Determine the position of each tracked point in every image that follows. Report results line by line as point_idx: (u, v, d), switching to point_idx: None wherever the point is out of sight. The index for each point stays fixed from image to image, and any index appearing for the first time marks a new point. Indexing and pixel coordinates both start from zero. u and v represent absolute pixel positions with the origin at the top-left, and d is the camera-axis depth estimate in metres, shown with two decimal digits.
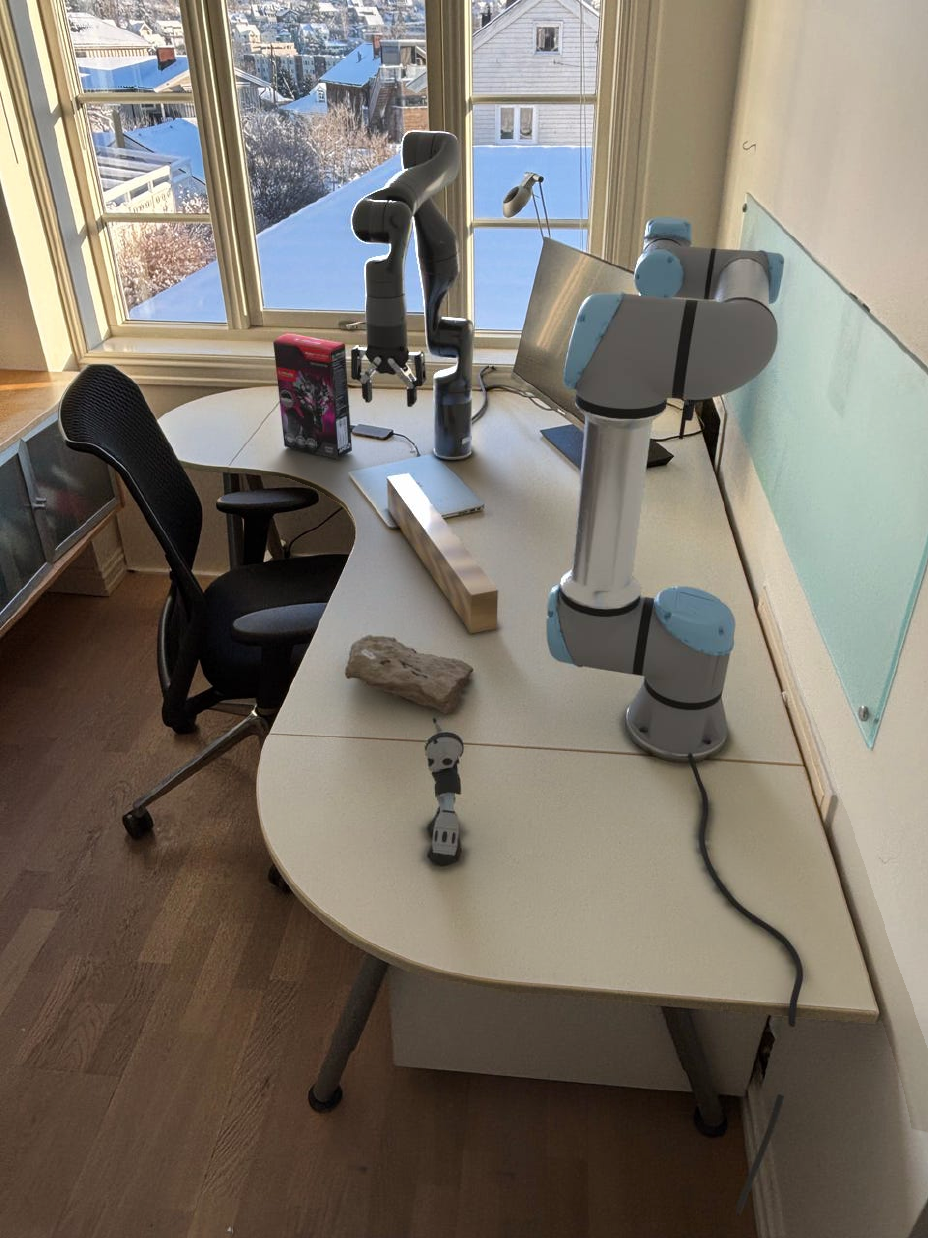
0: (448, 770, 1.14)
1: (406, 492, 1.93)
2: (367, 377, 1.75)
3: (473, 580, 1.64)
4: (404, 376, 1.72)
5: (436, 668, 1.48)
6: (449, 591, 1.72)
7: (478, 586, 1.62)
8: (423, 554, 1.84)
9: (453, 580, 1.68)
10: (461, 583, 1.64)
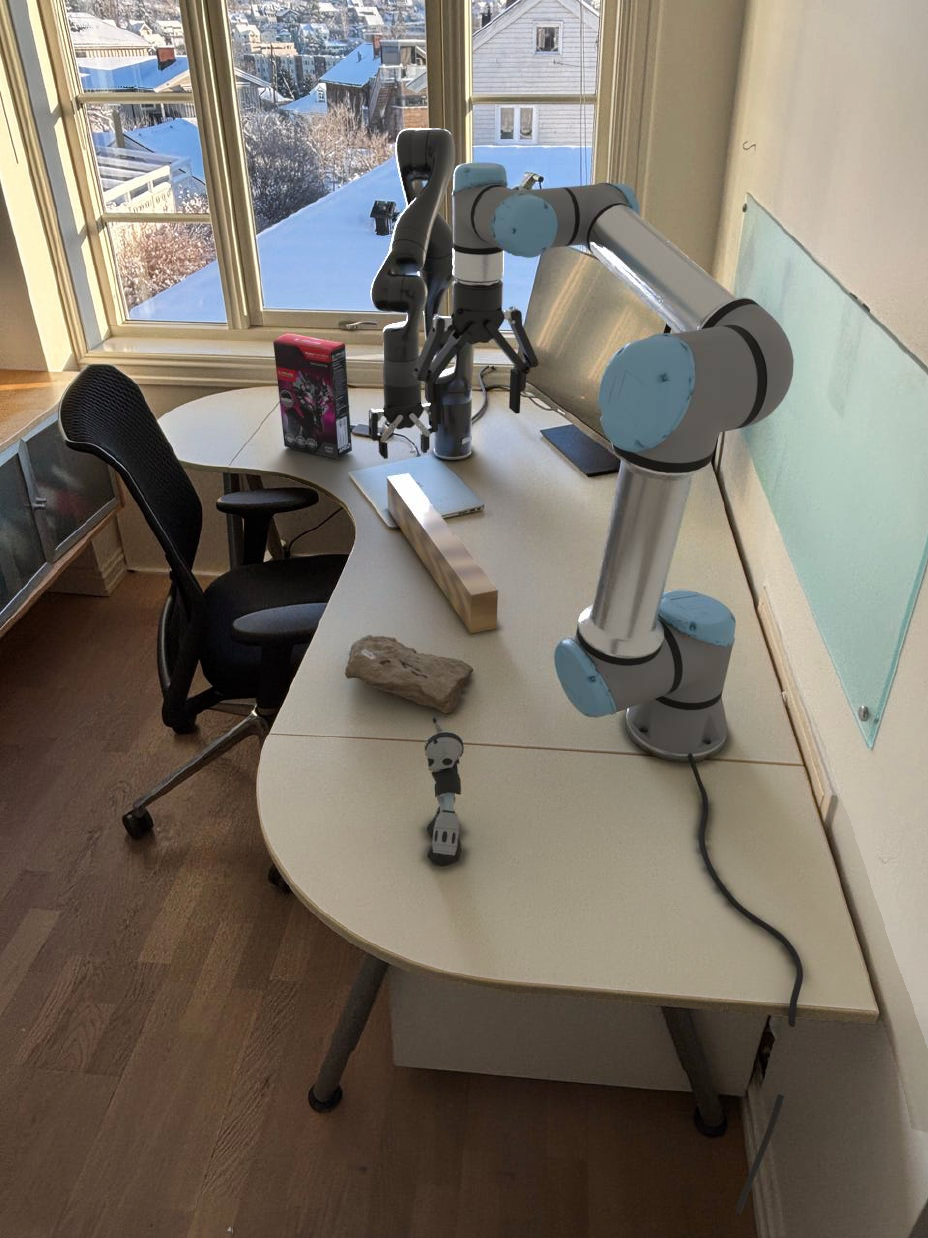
0: (448, 770, 1.14)
1: (406, 492, 1.93)
2: (387, 435, 1.87)
3: (473, 580, 1.64)
4: (423, 426, 1.89)
5: (436, 668, 1.48)
6: (449, 591, 1.72)
7: (478, 586, 1.62)
8: (423, 554, 1.84)
9: (453, 580, 1.68)
10: (461, 583, 1.64)
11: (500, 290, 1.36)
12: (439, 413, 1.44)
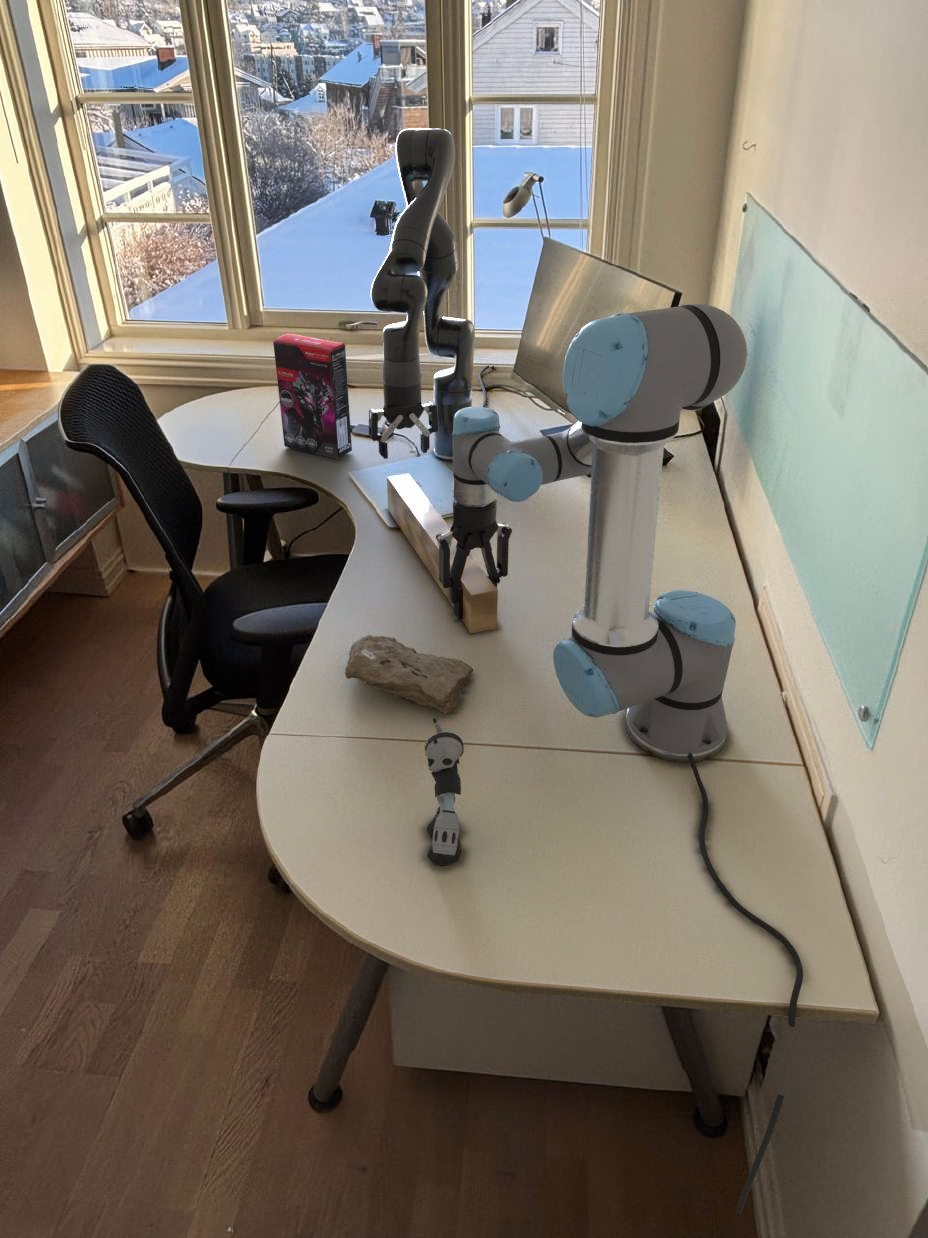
0: (448, 770, 1.14)
1: (406, 492, 1.93)
2: (387, 435, 1.87)
3: (473, 580, 1.64)
4: (423, 426, 1.89)
5: (436, 668, 1.48)
6: None
7: (478, 586, 1.62)
8: (423, 554, 1.84)
9: None
10: (461, 583, 1.64)
11: (494, 509, 1.56)
12: (461, 611, 1.67)
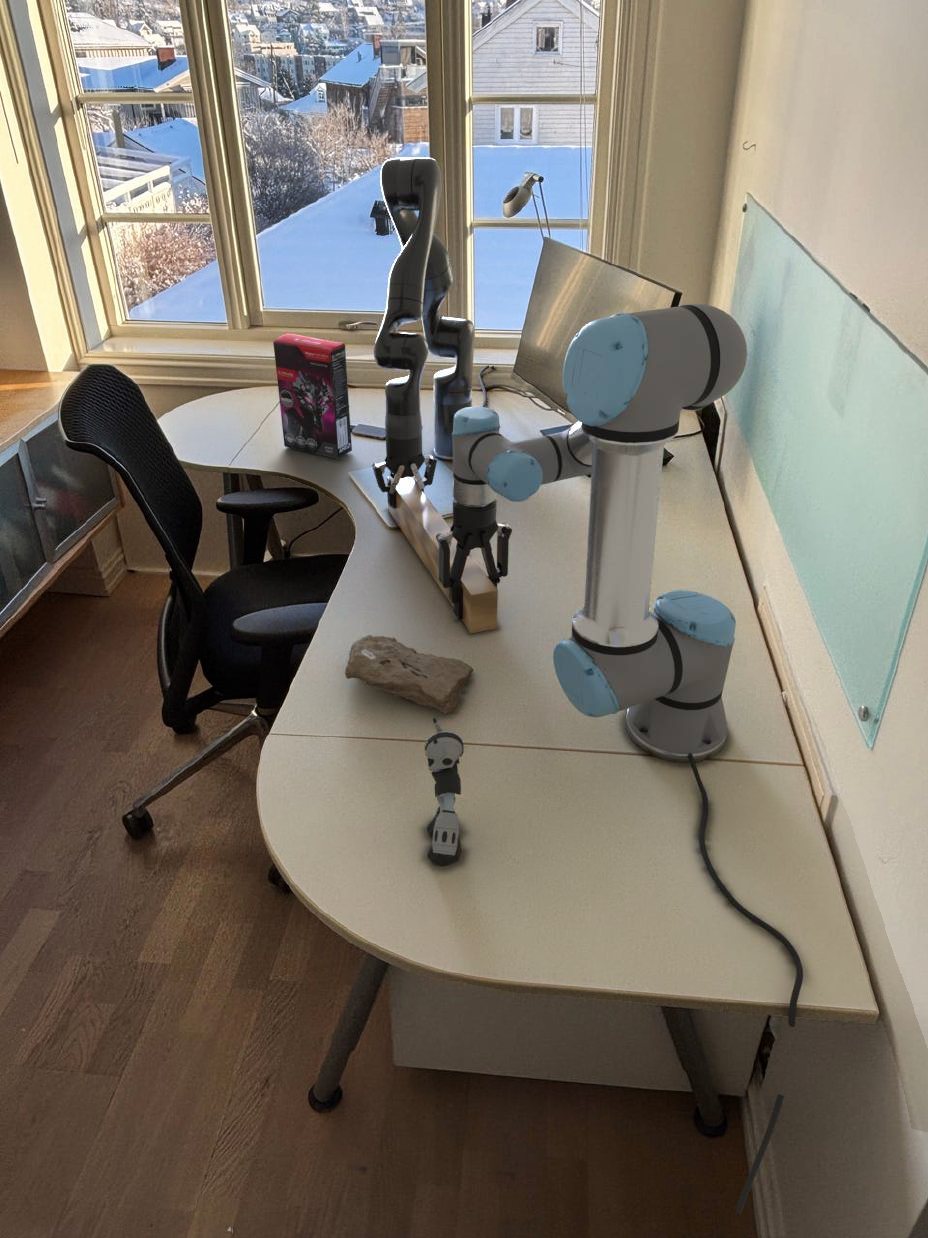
0: (448, 770, 1.14)
1: (406, 492, 1.93)
2: (395, 486, 1.94)
3: (473, 580, 1.64)
4: (420, 479, 1.95)
5: (436, 668, 1.48)
6: None
7: (478, 586, 1.62)
8: (423, 554, 1.84)
9: None
10: (461, 583, 1.64)
11: (494, 509, 1.56)
12: (461, 611, 1.67)
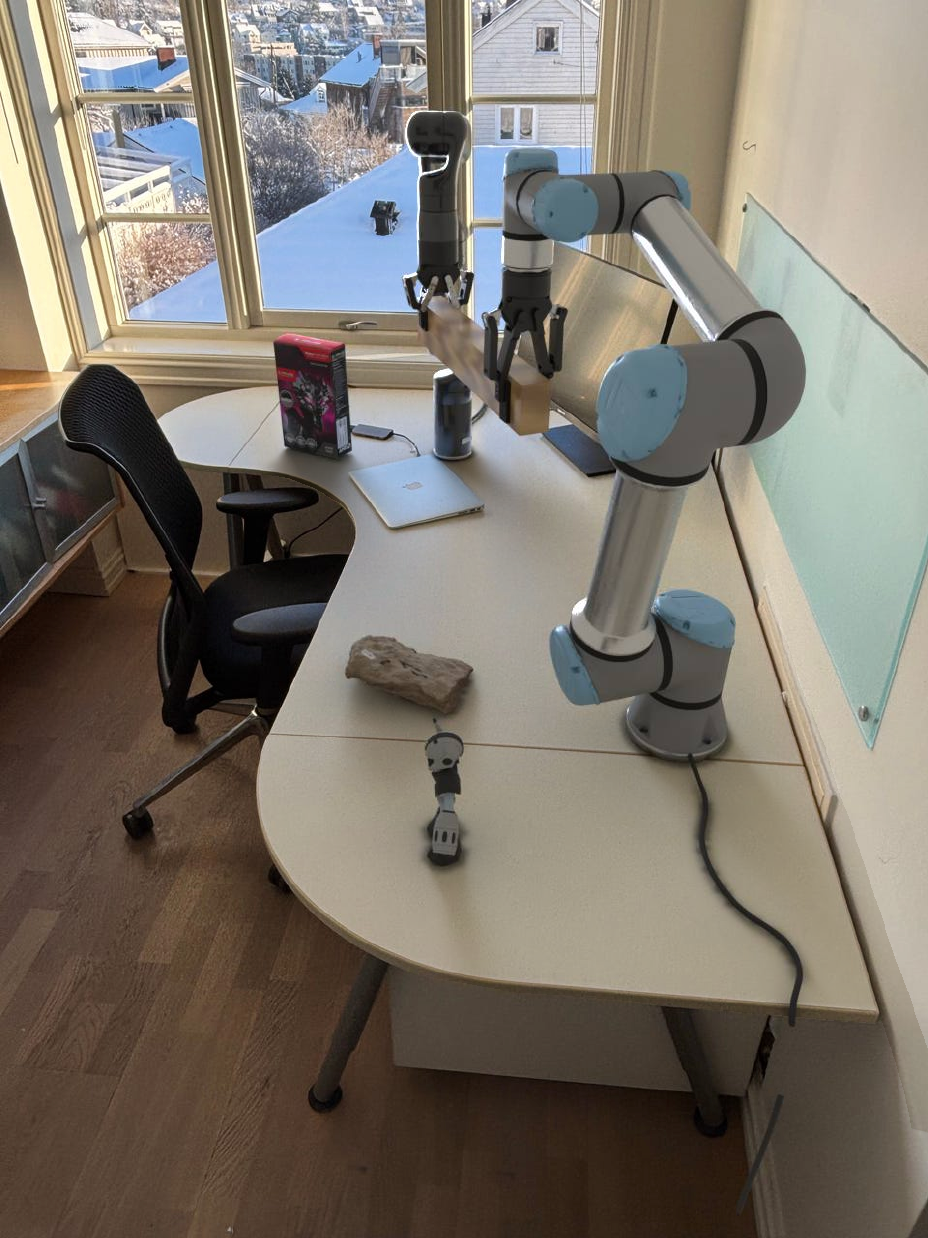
0: (448, 770, 1.14)
1: (440, 308, 1.72)
2: (427, 303, 1.73)
3: (523, 374, 1.43)
4: (455, 295, 1.74)
5: (436, 668, 1.48)
6: (493, 397, 1.51)
7: (528, 379, 1.41)
8: (461, 368, 1.63)
9: None
10: (509, 377, 1.43)
11: (550, 277, 1.35)
12: (509, 412, 1.45)
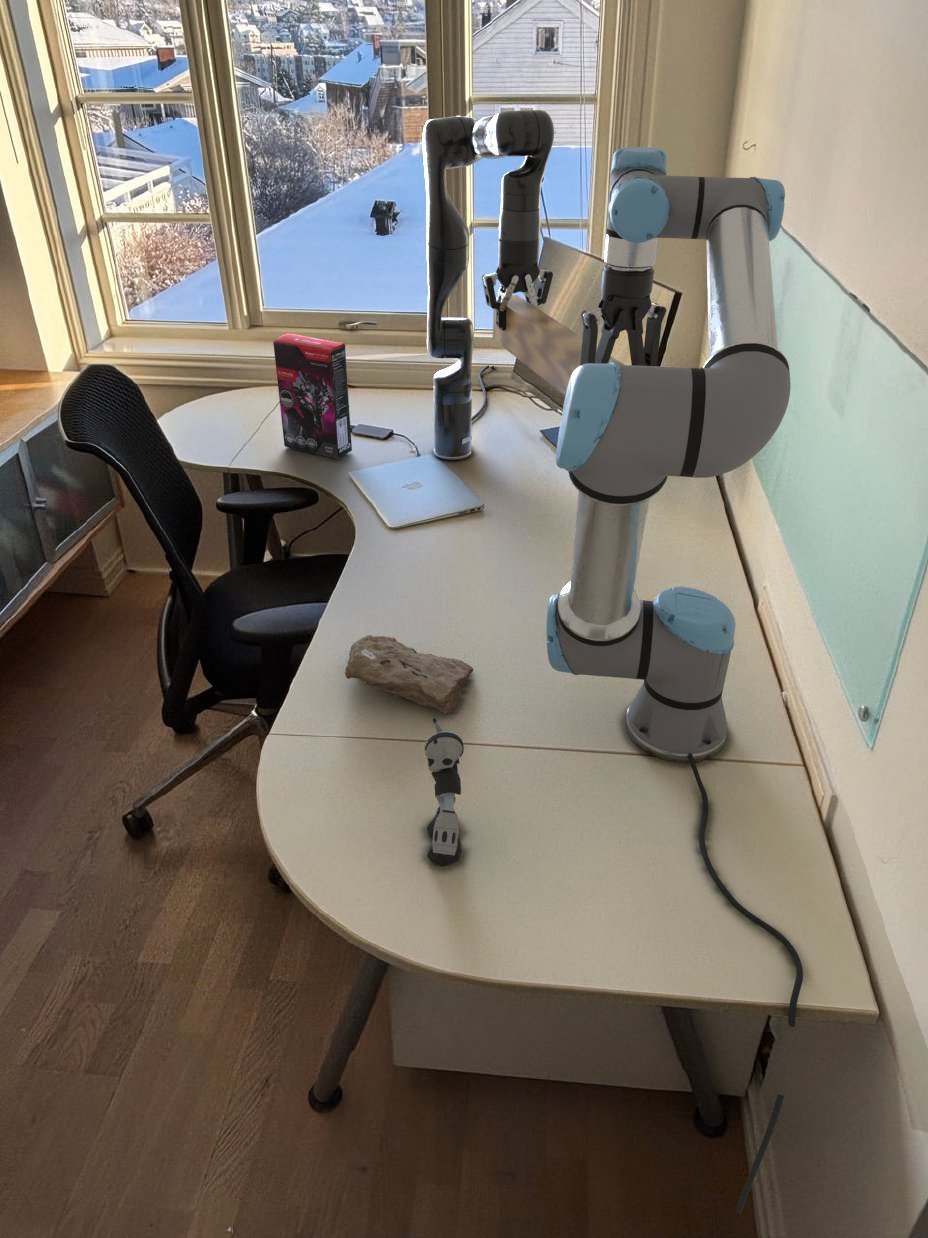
0: (448, 770, 1.14)
1: (519, 308, 1.72)
2: (506, 302, 1.73)
3: None
4: (534, 294, 1.74)
5: (436, 668, 1.48)
6: None
7: None
8: (545, 367, 1.63)
9: None
10: None
11: (652, 276, 1.35)
12: None
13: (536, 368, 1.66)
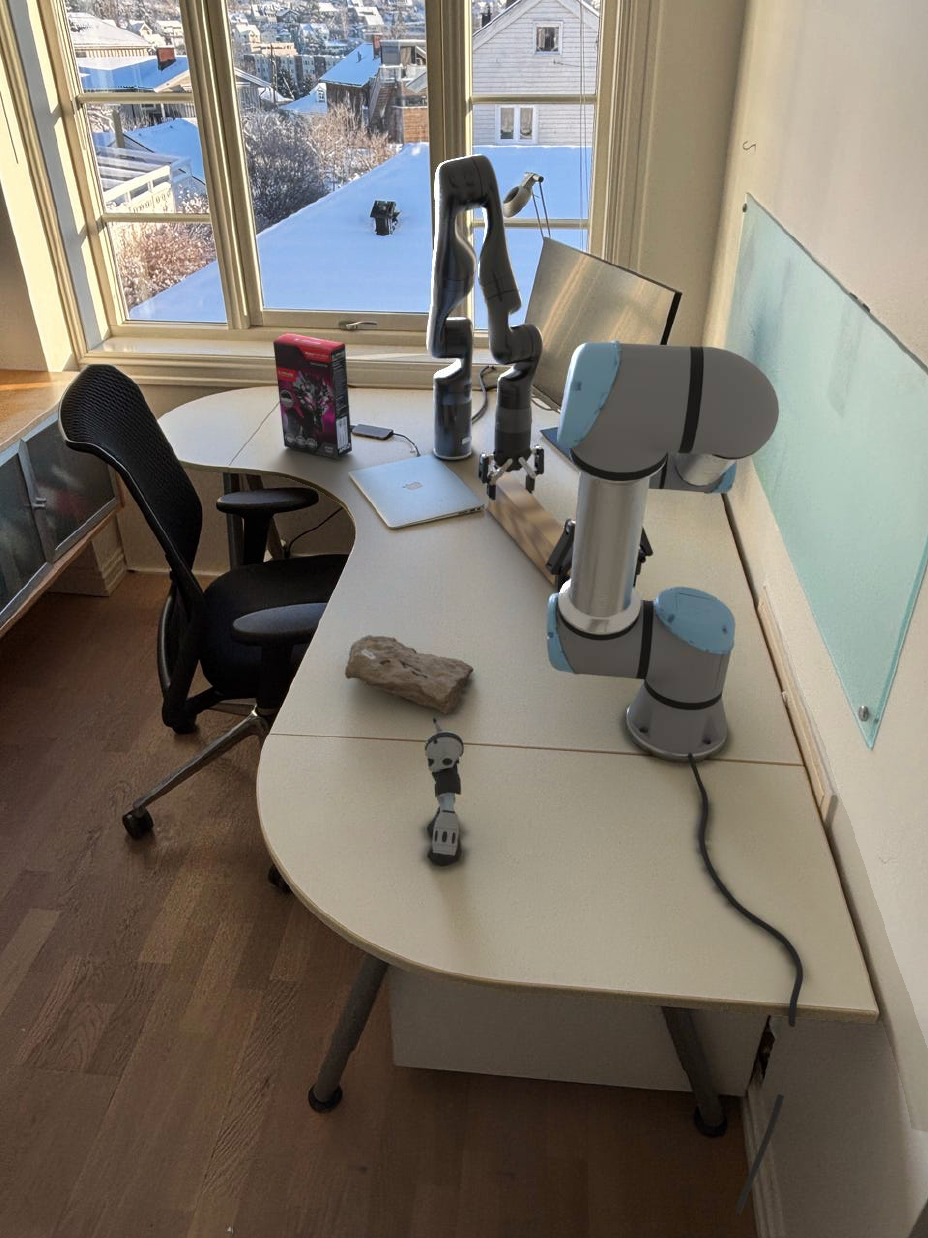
0: (448, 770, 1.14)
1: (511, 491, 1.94)
2: (496, 478, 1.93)
3: None
4: (530, 469, 1.94)
5: (436, 668, 1.48)
6: None
7: None
8: (534, 553, 1.84)
9: None
10: None
11: None
12: None
13: (526, 550, 1.88)
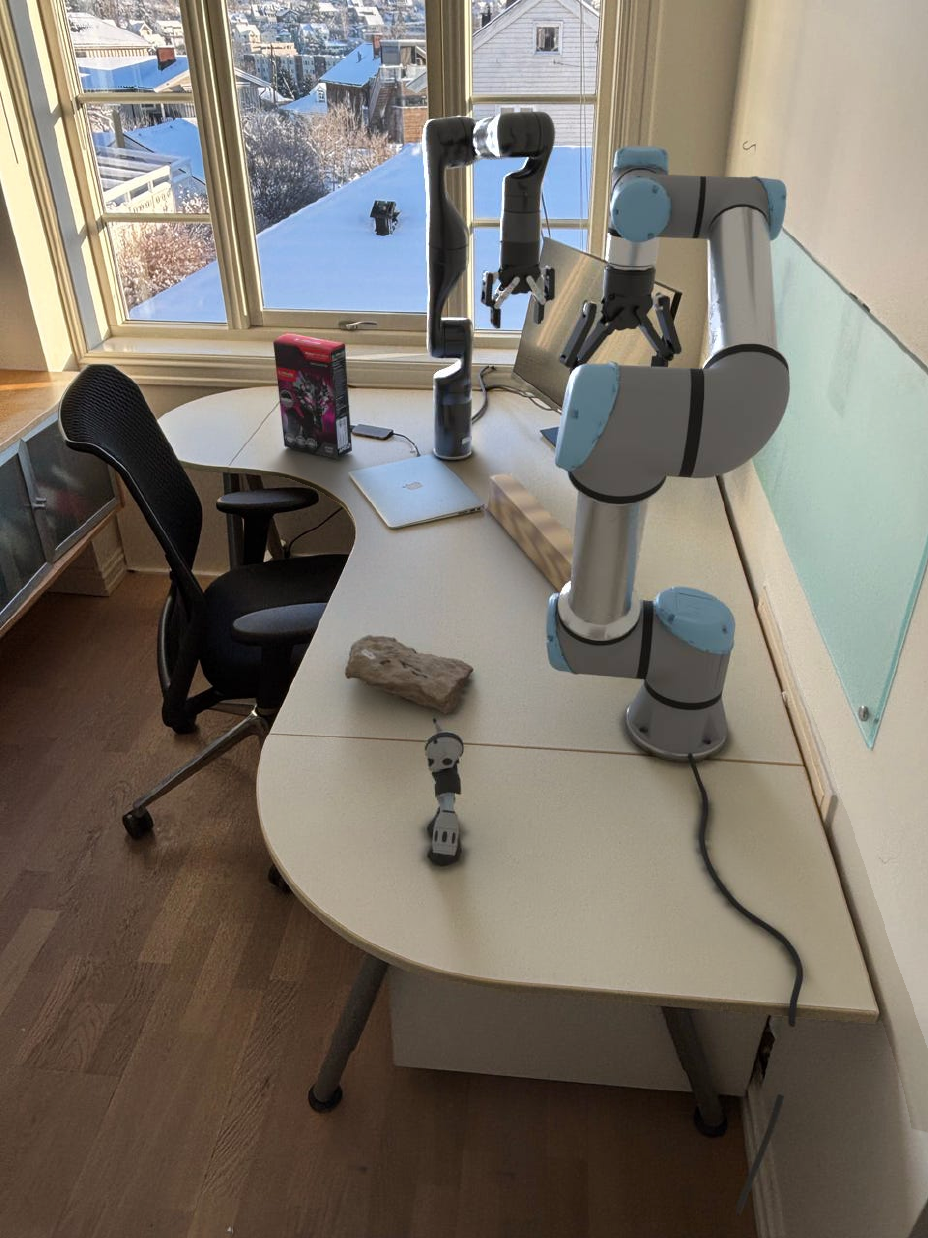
0: (448, 770, 1.14)
1: (511, 491, 1.94)
2: (501, 301, 1.72)
3: None
4: (539, 292, 1.74)
5: (436, 668, 1.48)
6: None
7: None
8: (534, 553, 1.84)
9: None
10: None
11: (654, 275, 1.35)
12: None
13: (526, 550, 1.88)
